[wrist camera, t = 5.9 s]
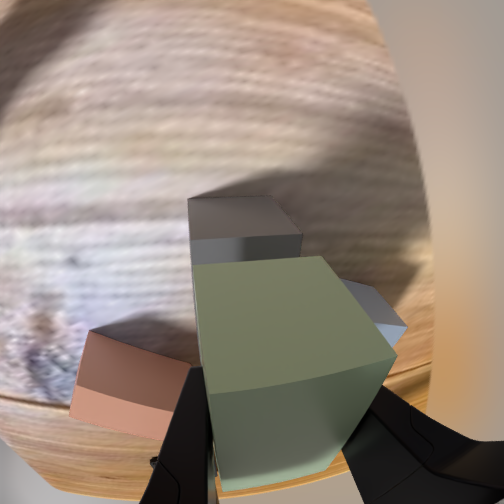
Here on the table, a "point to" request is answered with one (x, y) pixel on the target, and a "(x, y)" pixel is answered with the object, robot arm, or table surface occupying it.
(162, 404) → the terracotta brick
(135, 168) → the table surface
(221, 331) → the green brick
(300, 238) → the charcoal brick
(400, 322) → the slate blue brick
